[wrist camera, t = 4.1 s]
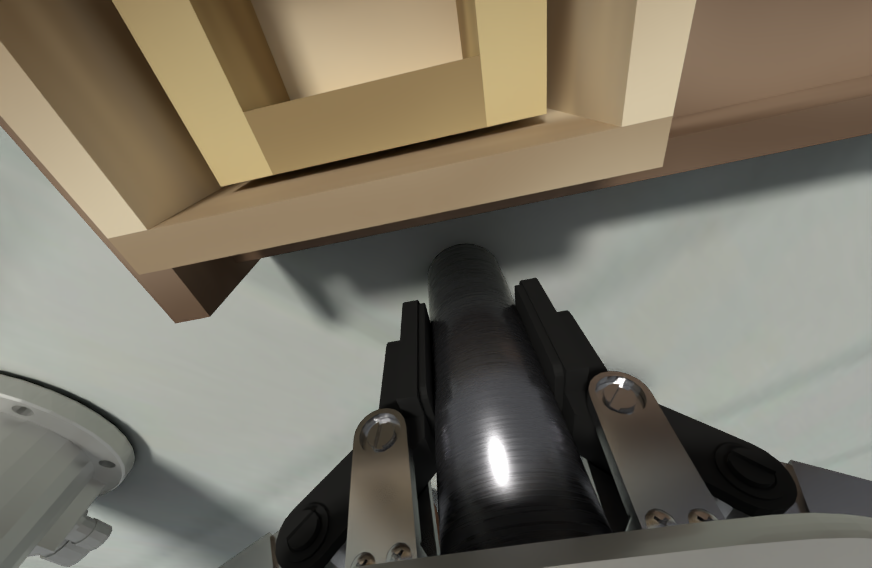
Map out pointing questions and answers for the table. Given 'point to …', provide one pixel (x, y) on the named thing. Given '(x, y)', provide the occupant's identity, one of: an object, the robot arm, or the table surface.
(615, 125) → the crate
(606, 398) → the robot arm
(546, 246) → the table surface
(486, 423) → the handle peg
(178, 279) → the tray
